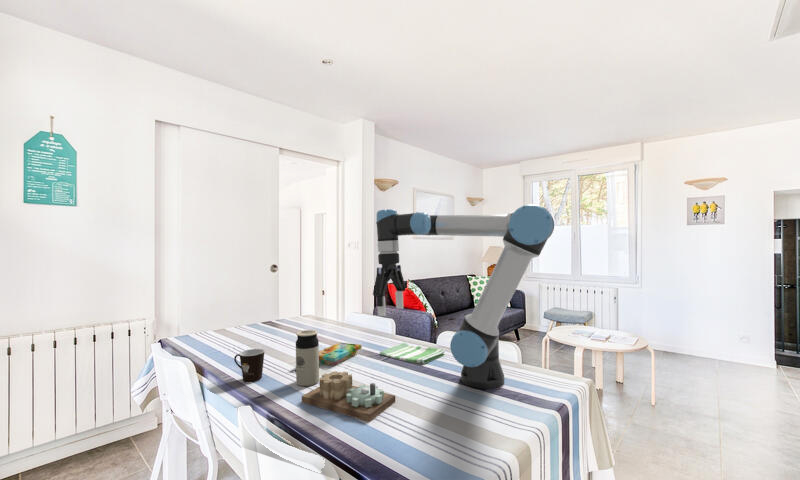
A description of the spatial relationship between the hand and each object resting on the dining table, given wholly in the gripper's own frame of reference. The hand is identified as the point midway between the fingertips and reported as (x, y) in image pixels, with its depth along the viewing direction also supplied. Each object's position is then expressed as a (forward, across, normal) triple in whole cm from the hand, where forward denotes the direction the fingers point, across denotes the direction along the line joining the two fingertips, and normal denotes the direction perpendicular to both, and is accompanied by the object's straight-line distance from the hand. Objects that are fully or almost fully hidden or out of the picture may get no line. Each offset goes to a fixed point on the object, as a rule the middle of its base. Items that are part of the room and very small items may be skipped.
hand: (391, 312), depth 129 cm
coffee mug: (+23, +19, -51) cm, 59 cm away
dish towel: (+25, -31, -7) cm, 40 cm away
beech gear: (+22, +20, -11) cm, 32 cm away
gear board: (+25, +20, -6) cm, 32 cm away
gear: (+23, +21, +1) cm, 31 cm away
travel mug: (+24, +13, -28) cm, 39 cm away
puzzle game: (+24, -14, -35) cm, 45 cm away
